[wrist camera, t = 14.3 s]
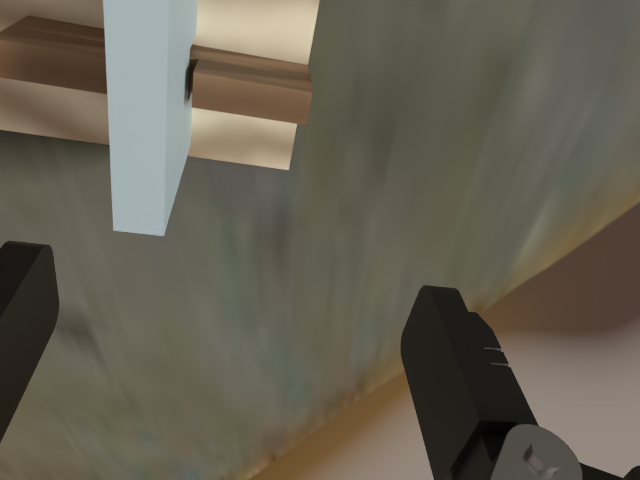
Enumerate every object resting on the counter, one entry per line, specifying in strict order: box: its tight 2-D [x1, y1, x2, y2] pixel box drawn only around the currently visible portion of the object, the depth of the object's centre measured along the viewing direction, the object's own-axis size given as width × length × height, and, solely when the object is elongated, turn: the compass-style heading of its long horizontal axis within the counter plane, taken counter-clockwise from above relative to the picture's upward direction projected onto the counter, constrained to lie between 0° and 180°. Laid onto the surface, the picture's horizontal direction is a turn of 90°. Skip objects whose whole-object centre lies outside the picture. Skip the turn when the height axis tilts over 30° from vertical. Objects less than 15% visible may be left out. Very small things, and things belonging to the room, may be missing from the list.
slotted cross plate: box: [103, 0, 198, 236], centre depth 33 cm, size 14×3×13 cm, turn 169°
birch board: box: [0, 0, 320, 170], centre depth 38 cm, size 16×32×1 cm, turn 79°
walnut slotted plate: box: [0, 15, 313, 125], centre depth 36 cm, size 2×20×6 cm, turn 79°
